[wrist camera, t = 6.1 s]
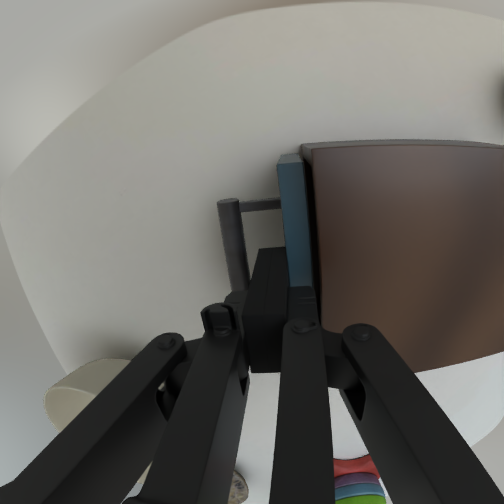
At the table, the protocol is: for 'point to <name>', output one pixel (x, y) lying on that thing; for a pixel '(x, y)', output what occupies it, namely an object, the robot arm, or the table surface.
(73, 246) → the table surface
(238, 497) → the fossilized seashell
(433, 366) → the cabinet
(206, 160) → the table surface
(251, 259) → the table surface
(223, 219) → the drawer
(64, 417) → the bowl
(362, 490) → the stacking bear
